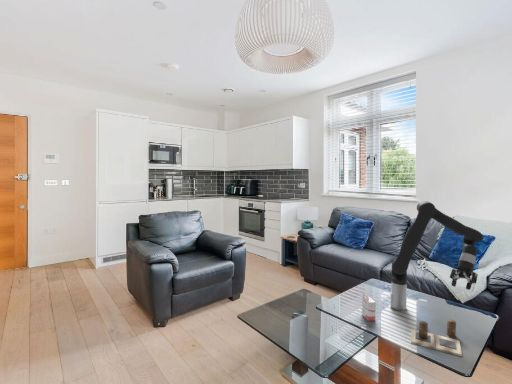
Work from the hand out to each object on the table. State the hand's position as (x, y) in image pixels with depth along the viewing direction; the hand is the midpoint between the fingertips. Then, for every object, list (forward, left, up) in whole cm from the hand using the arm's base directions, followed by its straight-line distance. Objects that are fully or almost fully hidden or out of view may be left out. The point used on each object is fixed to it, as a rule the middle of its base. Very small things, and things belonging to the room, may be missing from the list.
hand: (460, 287), depth 165 cm
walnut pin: (-5, -15, -23) cm, 28 cm away
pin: (-18, -28, -21) cm, 40 cm away
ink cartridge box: (-48, -18, -23) cm, 56 cm away
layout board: (-13, -28, -23) cm, 39 cm away
